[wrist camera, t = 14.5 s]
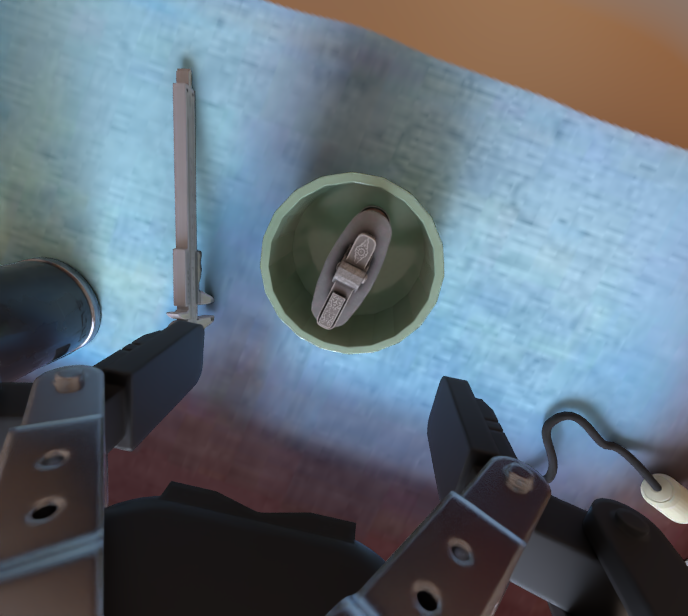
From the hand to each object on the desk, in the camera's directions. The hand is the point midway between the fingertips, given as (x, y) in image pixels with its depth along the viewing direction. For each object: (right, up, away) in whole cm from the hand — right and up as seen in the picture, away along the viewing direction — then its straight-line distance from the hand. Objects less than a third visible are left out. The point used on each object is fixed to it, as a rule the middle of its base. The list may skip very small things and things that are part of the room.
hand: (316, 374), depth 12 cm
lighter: (+2, +7, +18) cm, 20 cm away
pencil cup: (+2, +7, +19) cm, 20 cm away
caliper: (-11, +11, +19) cm, 25 cm away
